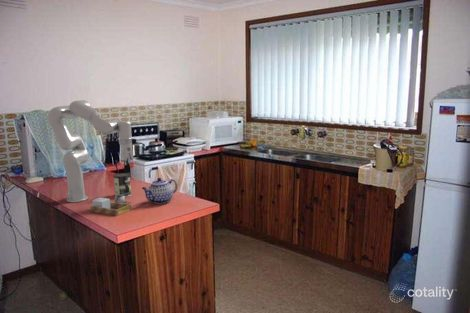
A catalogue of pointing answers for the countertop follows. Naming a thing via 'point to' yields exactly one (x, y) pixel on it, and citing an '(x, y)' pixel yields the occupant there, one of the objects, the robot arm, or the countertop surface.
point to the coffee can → (122, 183)
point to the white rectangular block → (102, 202)
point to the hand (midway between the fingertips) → (127, 171)
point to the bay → (121, 206)
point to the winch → (121, 200)
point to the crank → (125, 190)
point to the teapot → (160, 191)
